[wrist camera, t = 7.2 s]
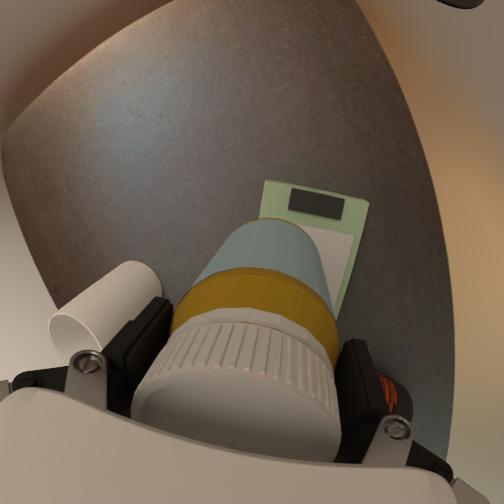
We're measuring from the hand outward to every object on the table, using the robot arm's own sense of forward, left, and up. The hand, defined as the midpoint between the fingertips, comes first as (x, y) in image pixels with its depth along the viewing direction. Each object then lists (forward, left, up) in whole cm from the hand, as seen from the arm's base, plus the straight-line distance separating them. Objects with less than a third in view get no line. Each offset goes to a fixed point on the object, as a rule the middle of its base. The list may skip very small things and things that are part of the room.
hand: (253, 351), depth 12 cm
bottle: (0, 0, -10) cm, 10 cm away
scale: (+3, +4, -26) cm, 26 cm away
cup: (+13, -18, -26) cm, 35 cm away
